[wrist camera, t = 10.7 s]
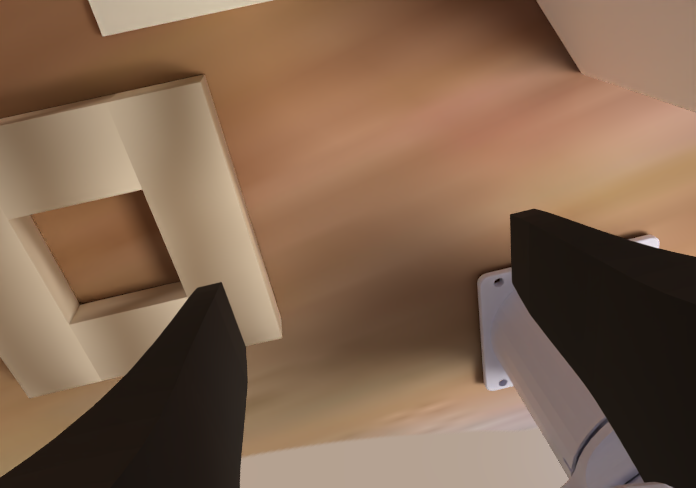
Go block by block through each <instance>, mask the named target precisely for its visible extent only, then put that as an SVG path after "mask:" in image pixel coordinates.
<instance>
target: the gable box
mask: <svg viewBox="0 0 696 488" xmlns="http://www.w3.org/2000/svg"><path fill="white" fill-rule="evenodd" d="M536 1H537V3H538V4H539V6H540V8H541V9H542V11H543V12H544V14H545V16H546V17H547V19H548V20H549V22H550V24H551V25H552V27H553V28H554V30H555V32H556V33H557V35H558V36H559V38H560V40H561V41H562V43H563V44H564V46H565V48H566V49H567V51H568V52H569V54H570V56H571V57H572V59H573V60H574V62H575V64H576V65H577V67H578V68H579V70H580V72H581V73H582V74H583V75H586V76H589V77H592V78H595V79H598V80H601V81H604V82H607V83H610V84H613V85H616V86H619V87H622V88H625V89H628V90H631V91H634V92H637V93H640V94H643V95H646V96H649V97H652V98H655V99H657V100H660V101H663V102H666V103H669V104H672V105H675V106H678V107H681V108H684V109H687V110H690V111H693V112H696V0H536Z"/></svg>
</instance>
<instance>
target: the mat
mask: <svg viewBox="0 0 696 488" xmlns="http://www.w3.org/2000/svg"><path fill="white" fill-rule="evenodd" d="M88 1H89V3H90V6H91V8H92V11H93V13H94V16H95V18H96V21H97V23H98V26H99V29H100V31H101V34H102V36H103V37H104V36H108V35H113V34H118V33H122V32H127V31H132V30H136V29H141V28H146V27H150V26H155V25H160V24H164V23H169V22H174V21H178V20H183V19H188V18H193V17H197V16H202V15H207V14H211V13H216V12H221V11H225V10H230V9H235V8H239V7H244V6H249V5H253V4H258V3H263V2H267V1H272V0H88Z"/></svg>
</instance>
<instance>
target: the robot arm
mask: <svg viewBox="0 0 696 488" xmlns="http://www.w3.org/2000/svg"><path fill="white" fill-rule="evenodd" d="M510 228H511V267H510V268H506V269H502V270H497V271H493V272H489V273H485V274H483V275H482V276H480V277H479V279H478V282H477V288H478V303H479V318H480V333H481V348H482V363H483V378H484V385H485V387H486V388H487V389H488V390H490V391H495V390H499V389H503V388H507V387H511V386H514V387H515V389H516V391H517V392H518V394H519V396H520V397H521V399H522V401H523V402H524V404H525V406H526V407H527V409H528V411H529V412H530V414H531V416H532V417H533V419H534V421H535V422H536V424H537V426H538V427H539V429H540V431H541V432H542V434H543V436H544V437H545V439H546V440H547V442H548V444H549V446H550V447H551V449H552V451H553V453H554V454H555V456H556V457H557V459H558V461H559V463H560V464H561V466H562V468H563V469H564V471H565V473H566V474H567V476H568V478H569V480H568V481H567V483H565V484H564V485H563V486H562V487H561V488H696V257H694V256H689V255H685V254H680V253H675V252H671V251H667V250H663V249H659V240H658V238H656V237H655V236H653V235H644V236H640V237H636V238H632V239H624V238H621V237H618V236H615V235H612V234H609V233H606V232H603V231H600V230H597V229H594V228H591V227H588V226H585V225H583V224H580V223H577V222H574V221H571V220H569V219H566V218H563V217H560V216H557V215H554V214H551V213H548V212H545V211H541V210H537V209H531V210H527V211H523V212H518V213H514V214H510ZM498 278H501V279H500V280H499V282H497V283H494V281H495V280H496V279H498ZM501 380H502V381H501ZM247 383H248V381H247V360H246V346H245V343H244V340H243V338H242V335H241V332H240V330H239V327H238V324H237V322H236V319H235V316H234V314H233V311H232V308H231V305H230V303H229V300H228V297H227V295H226V292H225V289H224V287H223V284H222V282H219V283H215V284H211V285H206V286H202V287H198V288H196V289H195V291H194V292H193V293H192V294H191V295H190V297H189V298H188V299H187V301H186V302H185V303H184V305H183V306H182V307H181V309H180V310H179V311H178V313H177V314H176V315H175V317H174V318H173V319H172V320H171V322H170V323H169V324H168V326H167V327H166V328H165V329H164V331H163V332H162V333H161V335H160V336H159V337H158V338H157V340H156V341H155V342H154V343H153V344H152V345H151V347H150V348H149V349H148V350H147V351H146V352H145V353H144V355H143V356H142V357H141V358H140V359H139V360H138V362H137V363H136V364H135V365H134V366H133V367H132V368H131V370H130V371H129V372H128V373H127V374H126V375H125V376H124V377H123V378H122V379H121V380H120V381H119V382H118V383H117V384H116V385H115V386H114V387H113V388H112V389H111V390H110V391H109V392H108V393H107V394H106V395H105V396H104V397H103V398H102V399H101V400H99V401H98V402H97V403H96V404H95V405H94V406H93V407H92V408H91V409H89V410H88V411H87V412H86V413H85V414H83V415H82V416H81V417H80V418H79V419H77V420H76V421H75V422H74V423H73V424H71V425H70V426H69V427H68V428H67V429H65V430H64V431H63V432H62V433H61V434H60V435H58V436H57V437H56V438H55V439H53V440H52V441H51V442H49V443H48V444H47V445H45V446H44V447H43V448H41V449H40V450H39V451H37V452H36V453H35V454H33V455H32V456H31V457H29V458H28V459H26V460H25V461H23V462H22V463H21V464H19V465H18V466H16V467H15V468H14V469H12V470H11V471H9V472H8V473H6V474H5V475H3V476H2V477H0V488H240V464H241V453H242V442H243V431H244V420H245V408H246V396H247Z"/></svg>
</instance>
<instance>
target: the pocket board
mask: <svg viewBox="0 0 696 488" xmlns="http://www.w3.org/2000/svg"><path fill="white" fill-rule="evenodd" d="M138 190H143V192H144V195H145V197H146V200H147V202H148V204H149V207H150V209H151V212H152V214H153V216H154V219H155V221H156V223H157V226H158V228H159V231H160V233H161V235H162V238H163V240H164V243H165V245H166V247H167V250H168V252H169V254H170V257H171V259H172V262H173V264H174V266H175V269H176V271H177V273H178V276H179V278H180V282H176V283H171V284H167V285H163V286H158V287H154V288H150V289H146V290H141V291H137V292H133V293H128V294H124V295H120V296H116V297H111V298H107V299H103V300H98V301H94V302H90V303H86V304H81V305H80V304H79V302H78V300H77V298H76V297H75V295H74V293H73V291H72V289H71V288H70V286H69V284H68V282H67V280H66V279H65V277H64V275H63V273H62V271H61V270H60V268H59V266H58V264H57V262H56V261H55V259H54V257H53V255H52V253H51V252H50V250H49V248H48V246H47V244H46V243H45V241H44V239H43V237H42V235H41V234H40V232H39V230H38V228H37V226H36V225H35V223H34V221H33V219H32V217H31V216H30V215H32V214H36V213H40V212H45V211H49V210H54V209H58V208H63V207H67V206H71V205H76V204H80V203H85V202H89V201H94V200H98V199H102V198H107V197H111V196H116V195H120V194H125V193H129V192H133V191H138ZM219 282H222V284H223V287H224V289H225V292H226V295H227V297H228V300H229V303H230V305H231V308H232V311H233V314H234V316H235V319H236V322H237V324H238V327H239V330H240V332H241V335H242V338H243V340H244V343H245V346H246V347H247V346H251V345H255V344H259V343H263V342H267V341H272V340H276V339H280V338H282V321H281V316H280V313H279V310H278V306H277V303H276V300H275V297H274V294H273V290H272V287H271V284H270V281H269V278H268V275H267V271H266V268H265V265H264V262H263V259H262V255H261V252H260V249H259V246H258V243H257V239H256V236H255V233H254V230H253V227H252V224H251V220H250V217H249V214H248V211H247V208H246V204H245V201H244V198H243V195H242V192H241V188H240V185H239V182H238V179H237V176H236V173H235V169H234V166H233V163H232V160H231V157H230V153H229V150H228V147H227V144H226V141H225V137H224V134H223V131H222V128H221V125H220V122H219V118H218V115H217V112H216V109H215V106H214V102H213V99H212V96H211V93H210V90H209V86H208V83H207V80H206V77H205V74H203V75H199V76H194V77H190V78H185V79H180V80H176V81H171V82H167V83H162V84H158V85H153V86H148V87H144V88H139V89H135V90H130V91H125V92H121V93H116V94H112V95H107V96H103V97H98V98H93V99H89V100H84V101H80V102H75V103H70V104H66V105H61V106H57V107H52V108H48V109H43V110H38V111H34V112H29V113H25V114H20V115H15V116H11V117H6V118H2V119H0V357H1V359H2V360H3V362H4V363H5V364H6V366H7V367H8V369H9V370H10V372H11V373H12V374H13V376H14V377H15V379H16V380H17V382H18V383H19V384H20V386H21V387H22V389H23V390H24V392H25V393H26V395H27V396H28V397H29V398H34V397H38V396H42V395H46V394H50V393H54V392H59V391H63V390H67V389H71V388H75V387H80V386H84V385H88V384H92V383H96V382H100V381H105V380H109V379H113V378H117V377H121V376H125V375H126V374H127V373H128V372H129V371H130V370H131V368H132V367H133V366H134V365H135V364H136V363H137V362H138V360H139V359H140V358H141V357H142V356H143V355H144V353H145V352H146V351H147V350H148V349H149V348H150V347H151V345H152V344H153V343H154V342H155V341H156V340H157V338H158V337H159V336H160V335H161V333H162V332H163V331H164V329H165V328H166V327H167V326H168V324H169V323H170V322H171V320H172V319H173V318H174V317H175V315H176V314H177V313H178V311H179V310H180V309H181V307H182V306H183V305H184V303H185V302H186V301H187V299H188V298H189V297H190V295H191V294H192V293H193V292H194V291H195V289H196V288H198V287H202V286H206V285H211V284H215V283H219Z"/></svg>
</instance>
